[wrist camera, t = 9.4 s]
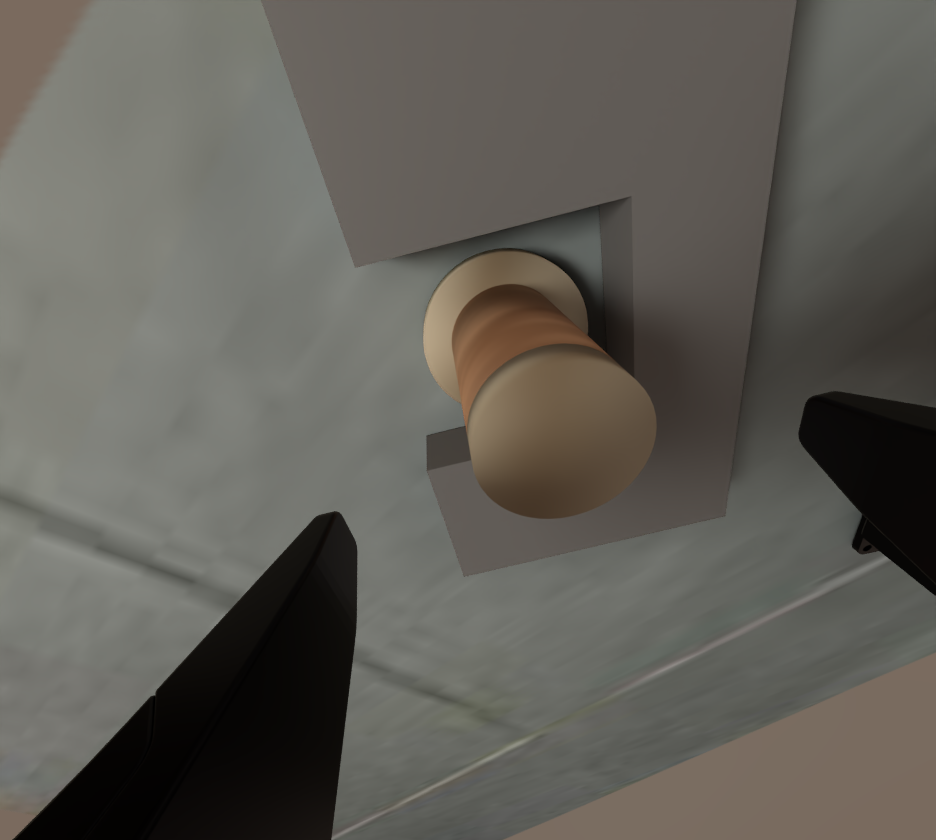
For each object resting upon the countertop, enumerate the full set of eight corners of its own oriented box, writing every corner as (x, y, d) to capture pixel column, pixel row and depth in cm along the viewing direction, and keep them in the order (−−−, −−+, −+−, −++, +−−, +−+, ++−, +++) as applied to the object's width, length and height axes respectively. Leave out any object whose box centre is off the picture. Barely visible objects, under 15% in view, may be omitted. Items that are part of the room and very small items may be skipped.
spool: (571, 228, 14) (715, 271, 7) (584, 382, 17) (694, 516, 10) (403, 272, 14) (383, 354, 7) (445, 416, 17) (460, 571, 10)
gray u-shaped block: (740, -125, 10) (824, -207, 8) (693, 480, 20) (725, 515, 18) (282, 4, 11) (246, -42, 8) (459, 536, 21) (464, 576, 19)
